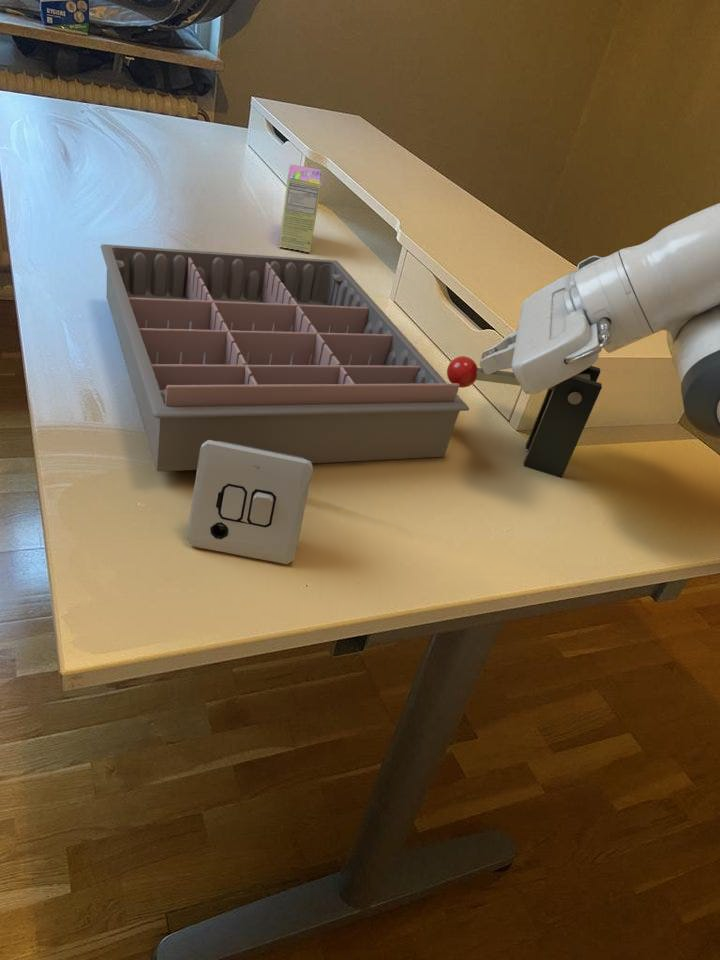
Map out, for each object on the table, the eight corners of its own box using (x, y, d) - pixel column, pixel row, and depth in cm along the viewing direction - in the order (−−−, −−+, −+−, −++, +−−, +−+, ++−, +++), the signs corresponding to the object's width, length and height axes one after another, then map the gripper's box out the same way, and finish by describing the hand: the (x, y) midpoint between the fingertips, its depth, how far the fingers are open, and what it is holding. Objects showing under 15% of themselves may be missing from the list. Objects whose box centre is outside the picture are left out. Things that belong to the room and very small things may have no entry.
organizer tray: (327, 312, 109) (340, 246, 104) (450, 471, 81) (476, 391, 75) (99, 303, 96) (100, 227, 91) (149, 489, 68) (154, 395, 62)
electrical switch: (183, 547, 62) (195, 451, 58) (197, 515, 67) (209, 424, 62) (293, 568, 63) (312, 475, 59) (299, 535, 68) (318, 446, 63)
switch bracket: (485, 476, 81) (523, 374, 74) (492, 434, 90) (527, 338, 82) (591, 509, 80) (640, 408, 73) (589, 463, 89) (633, 369, 82)
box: (280, 229, 136) (290, 163, 130) (311, 235, 137) (322, 169, 130) (277, 248, 128) (287, 177, 121) (309, 254, 129) (321, 184, 122)
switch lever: (443, 390, 81) (446, 361, 79) (447, 378, 84) (450, 349, 82) (585, 409, 78) (591, 379, 76) (584, 395, 81) (590, 367, 79)
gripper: (627, 373, 66) (488, 432, 72) (615, 301, 83) (503, 353, 89) (598, 313, 64) (457, 378, 70) (591, 251, 81) (479, 308, 87)
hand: (483, 364), depth 80 cm, fingers closed, pressing on switch lever
